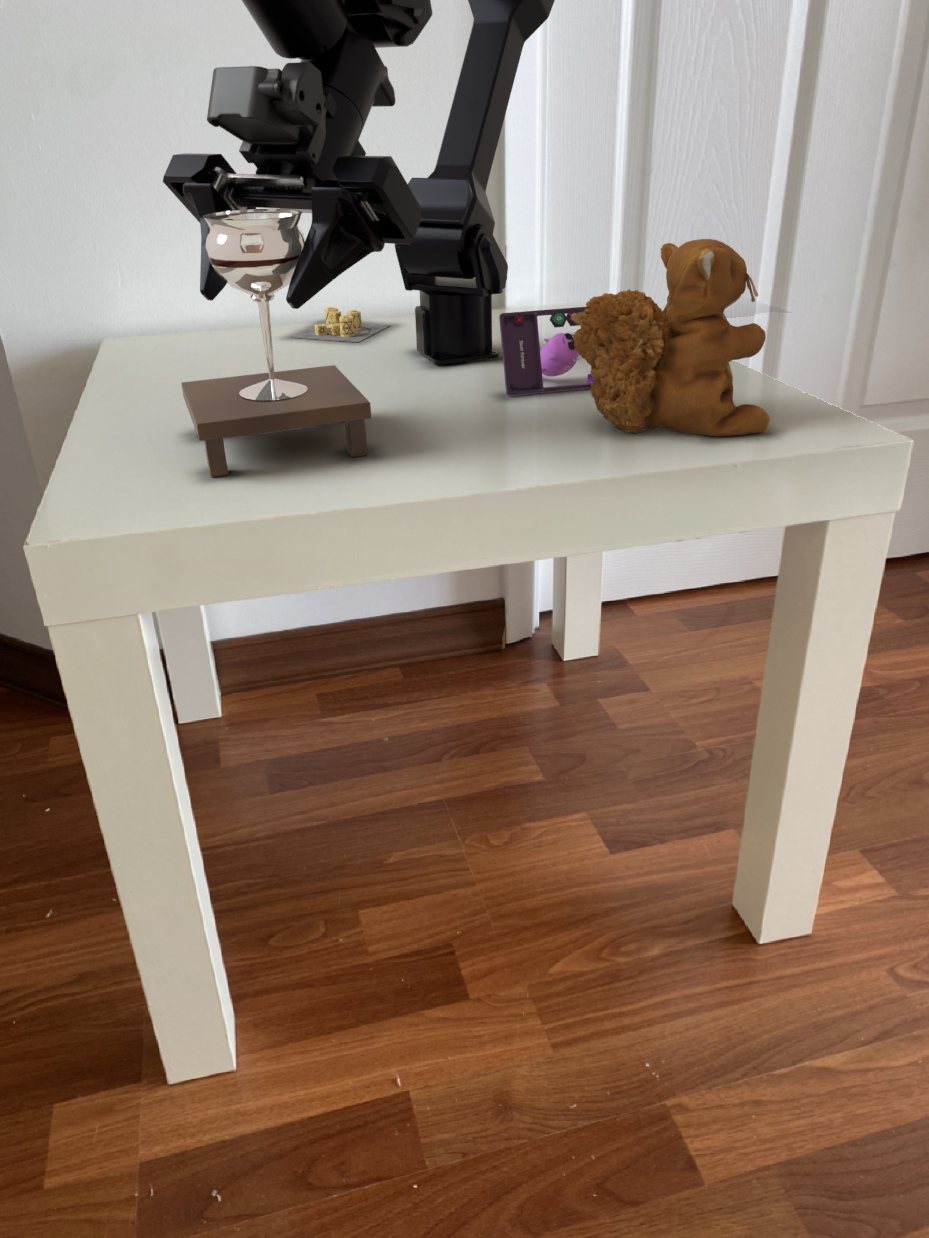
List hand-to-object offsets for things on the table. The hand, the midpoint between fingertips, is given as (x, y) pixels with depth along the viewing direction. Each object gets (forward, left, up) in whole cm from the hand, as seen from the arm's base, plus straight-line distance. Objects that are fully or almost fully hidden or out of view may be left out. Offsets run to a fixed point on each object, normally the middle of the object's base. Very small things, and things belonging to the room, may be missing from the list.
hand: (247, 301), depth 66 cm
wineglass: (-1, -1, -7) cm, 7 cm away
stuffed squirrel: (-30, +6, -11) cm, 32 cm away
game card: (-26, -7, -11) cm, 29 cm away
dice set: (-14, -35, -11) cm, 39 cm away
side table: (-1, -1, -11) cm, 11 cm away
